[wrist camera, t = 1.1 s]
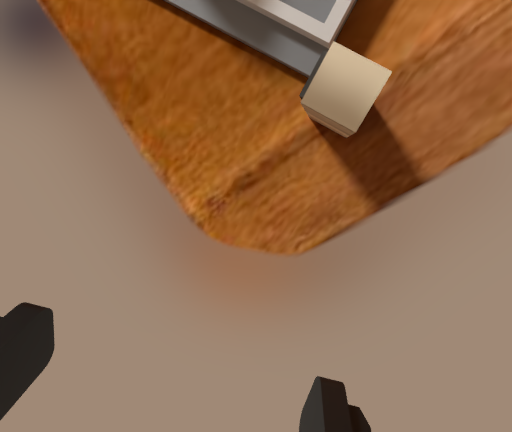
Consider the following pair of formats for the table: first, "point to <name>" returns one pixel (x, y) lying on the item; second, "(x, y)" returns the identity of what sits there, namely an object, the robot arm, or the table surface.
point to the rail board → (276, 25)
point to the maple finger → (342, 89)
